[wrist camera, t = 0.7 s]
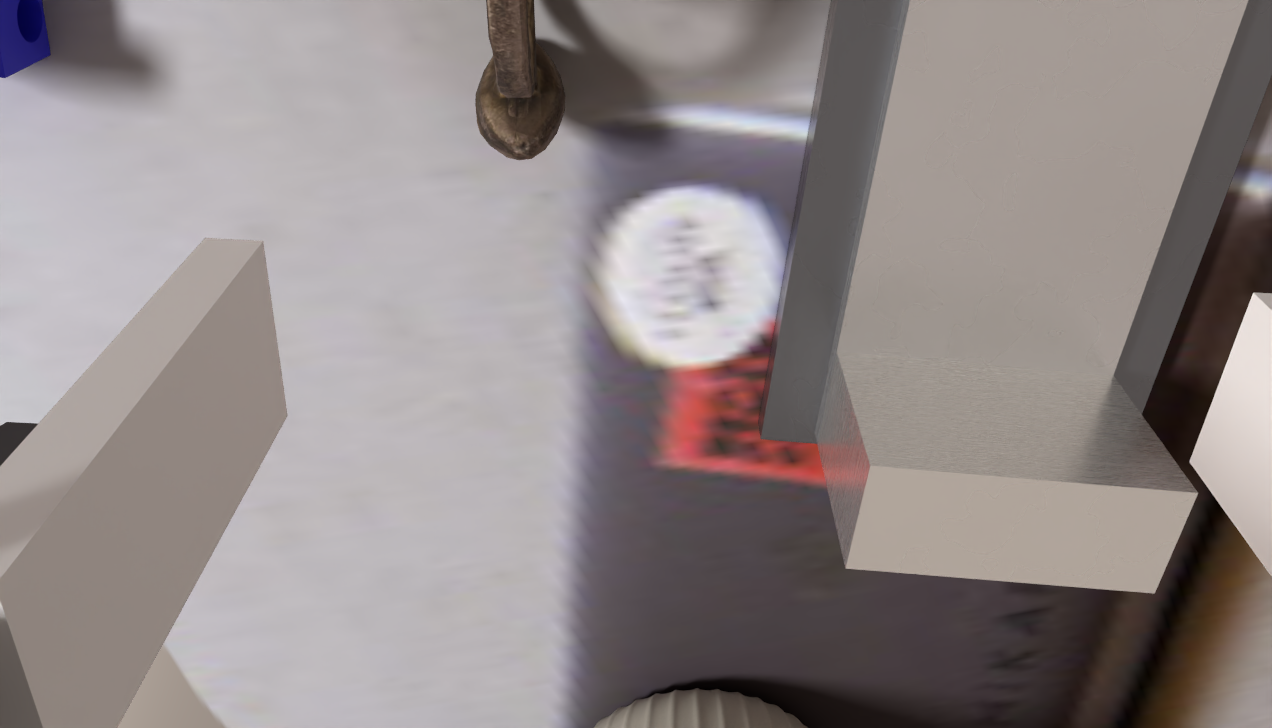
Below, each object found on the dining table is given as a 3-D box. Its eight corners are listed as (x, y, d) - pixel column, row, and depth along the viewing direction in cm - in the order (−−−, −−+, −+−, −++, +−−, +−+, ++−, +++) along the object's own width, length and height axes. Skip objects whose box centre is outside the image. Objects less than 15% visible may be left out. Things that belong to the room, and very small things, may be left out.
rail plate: (912, -470, 28) (1009, -550, 21) (1432, -414, 29) (1720, -472, 21) (757, 421, 42) (780, 575, 34) (1109, 451, 43) (1210, 609, 35)
